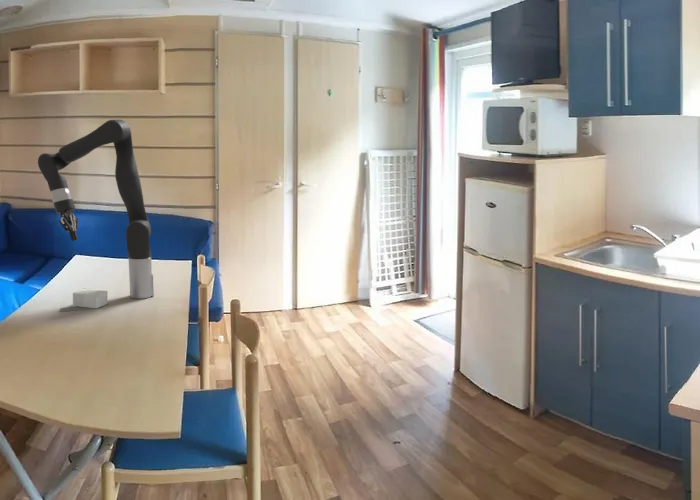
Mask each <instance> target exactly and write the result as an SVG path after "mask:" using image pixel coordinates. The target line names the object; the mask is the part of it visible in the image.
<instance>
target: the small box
mask: <svg viewBox="0 0 700 500" xmlns="http://www.w3.org/2000/svg"><path fill="white" fill-rule="evenodd" d="M107 304H108V290H101V289H100V290H99V289H92V288H83V289H80V290H77V291H74V292H72V307H74V306H78V307H87V308H91V309H99V308H101V307H103V306H106V305H107Z"/></svg>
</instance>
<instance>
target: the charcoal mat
mask: <svg viewBox="0 0 700 500" xmlns="http://www.w3.org/2000/svg"><path fill="white" fill-rule="evenodd" d="M90 309H92V308H87V307H78V306H67V307H60V312H61V313H62V312H72V311H79V310H82V311H83V310H90Z"/></svg>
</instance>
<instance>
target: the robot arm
mask: <svg viewBox="0 0 700 500" xmlns="http://www.w3.org/2000/svg"><path fill="white" fill-rule="evenodd" d="M111 143H112V144H113V146H114V150H115V155H116V160H115V171H114V175H115V181H116V182H115V183H116V186H117V189H118V193H119V195H120V198H121V200H122V202H123V203H124V206H125V208H126V211H127V217H128V225H127V226H126V231H125V236H126V237H125V238H126V239H125V240H126V251H127V255H128V256H127V258H128V277H129V280H128V281H129V297H130V298H132V299H148V298H151V296H152V297H154V296H155V293H154V292H155V291H154V290H155V289H154V274H153V273H152V272H153V269H152V250H151V246H150V245H151V244H150V243H151V242H150V236H151V234H152V227H151V223H150V221H149V217H148V215H147V212H146V208H145V202H144V194H143V190H142V188H143V187H142V184H141V178H140V174H139V170H138V166H137V162H136V157H135V154H134V147H133V145H134V144H133V138H132V130H131V127H130V126H129V124H128V123H127V122H126V121H125V120H122V119H109V120H106V121H105V122H104V123H102V124H101V125H100V126H98V127H97V128H96V129H95V130H93V131H91V132H90V133H88V134H86V135H85V136H84V135H83V136H82V137H79V138H78V139H76V140H74V141H72V142H69V143H67V144H65V145H64V146H62V147H60V148H59V150H58V152H56V153H46V152H45V153H41V154H40V155H39V156H38V158H37V165H38V168H39V170H40V173H41V174H42V176H43V177H44V179H45V181H46V182H47V185H48V188H49V193H50V196H51V200H52V203H53V207H54V210H55V213H56V214H59V216H60V219H58V222H59V224H60V225H61V226H62V228H63V229H64V231H65V232H67V233H68V235H69V237H70V240H71V241H72V242H75V241H77V240H79V238H78V234H77V231H78V229H79V218H78V217H76V216H75V214H74V211H75V209H76V205H75V203H74V199H73V196H72V194H71V191H70V189H69V186H68V183H67V179H66V177H65V176H64V175H63V174H61V173H60V172H59V171H61V170H63V169H64V168H67V166H69V165H70V164H71V163H73V162H75V161H77V160H79V159H82V158H84V157H85V156H87V155H89V154H90V153H91V152H92V151H94V150H96V149H98V148H100V147H102V146H105V145H109V144H111Z"/></svg>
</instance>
